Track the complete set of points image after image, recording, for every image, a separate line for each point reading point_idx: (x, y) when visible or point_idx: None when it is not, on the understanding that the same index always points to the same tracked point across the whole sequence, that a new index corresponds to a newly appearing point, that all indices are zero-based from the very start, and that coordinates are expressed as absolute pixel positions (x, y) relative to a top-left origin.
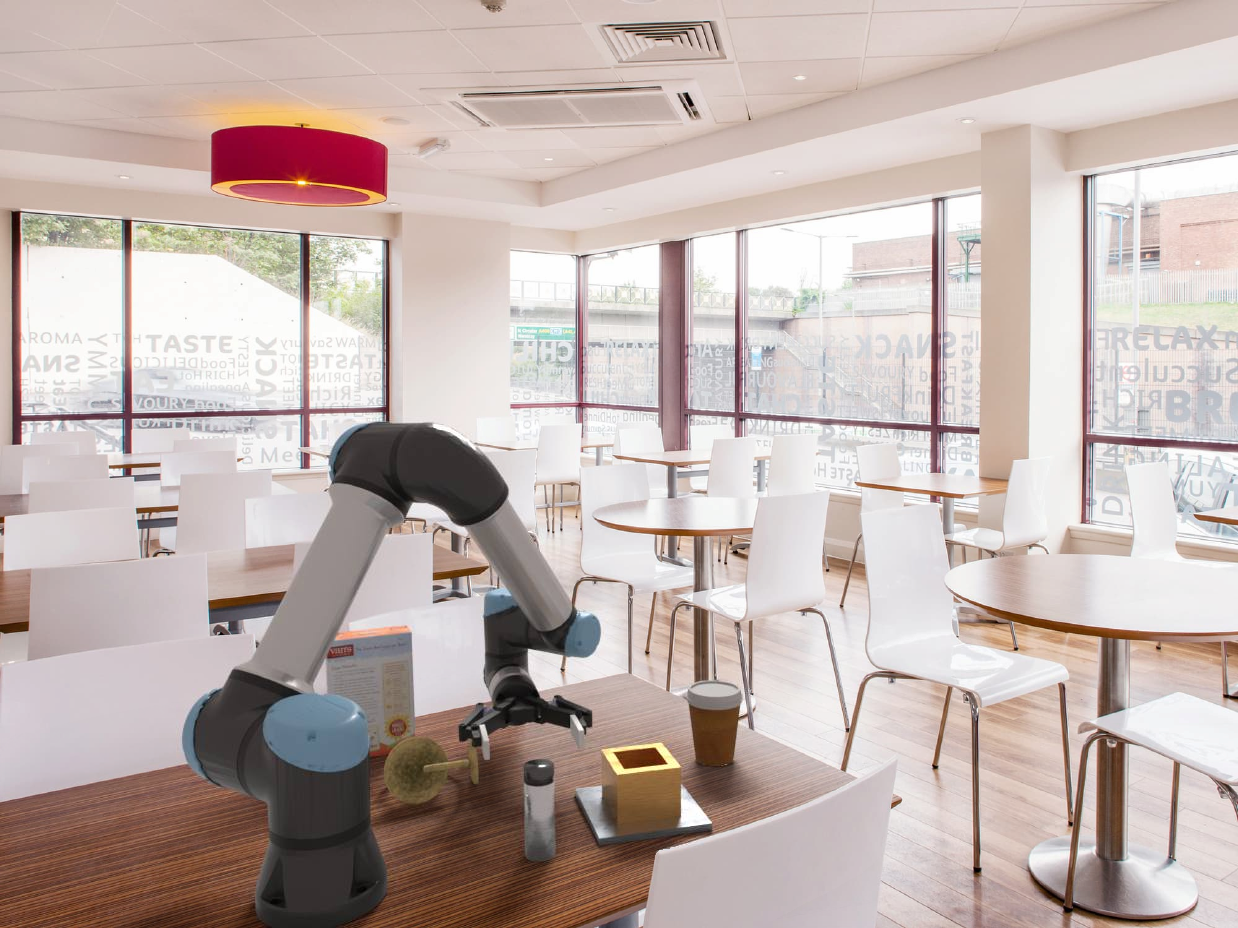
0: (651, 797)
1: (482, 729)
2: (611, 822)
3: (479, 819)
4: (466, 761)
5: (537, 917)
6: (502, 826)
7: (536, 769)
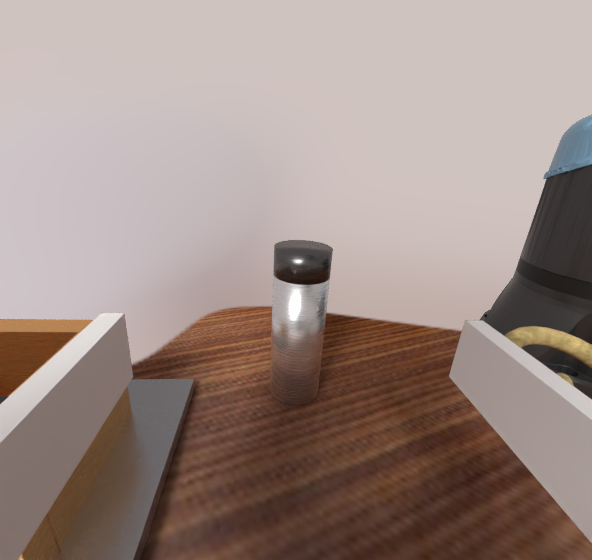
0: None
1: (587, 403)
2: (139, 418)
3: (451, 554)
4: None
5: None
6: (374, 495)
7: (308, 243)
